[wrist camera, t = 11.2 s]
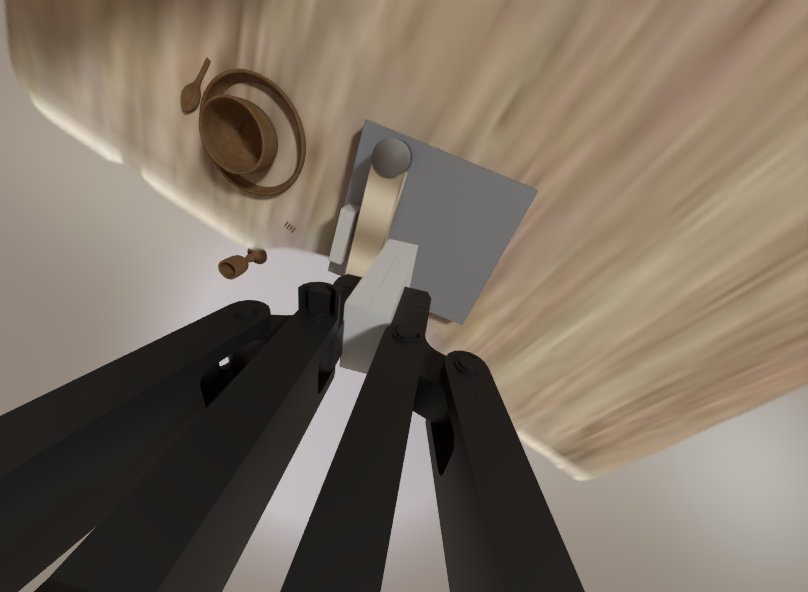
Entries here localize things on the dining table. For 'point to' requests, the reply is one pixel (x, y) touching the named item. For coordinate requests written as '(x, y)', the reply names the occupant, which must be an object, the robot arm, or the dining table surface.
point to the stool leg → (379, 203)
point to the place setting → (239, 141)
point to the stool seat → (439, 220)
